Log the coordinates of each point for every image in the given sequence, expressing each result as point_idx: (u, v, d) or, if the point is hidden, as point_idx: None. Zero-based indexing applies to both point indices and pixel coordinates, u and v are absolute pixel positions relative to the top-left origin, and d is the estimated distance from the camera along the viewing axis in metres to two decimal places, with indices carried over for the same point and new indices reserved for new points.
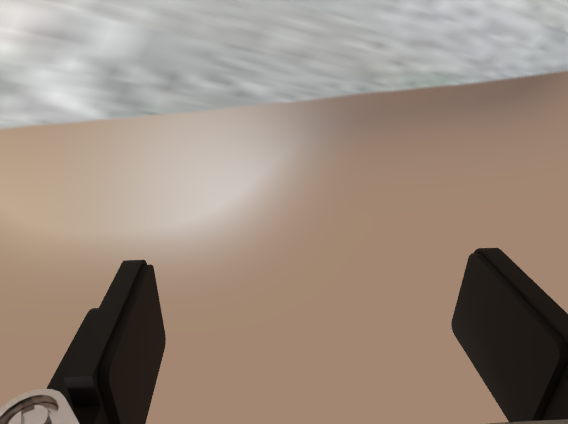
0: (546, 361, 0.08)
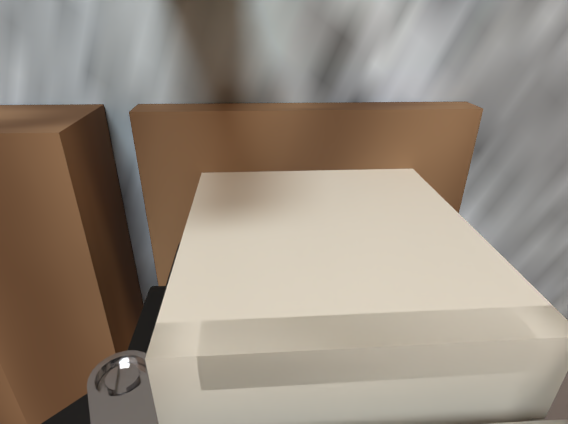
0: None
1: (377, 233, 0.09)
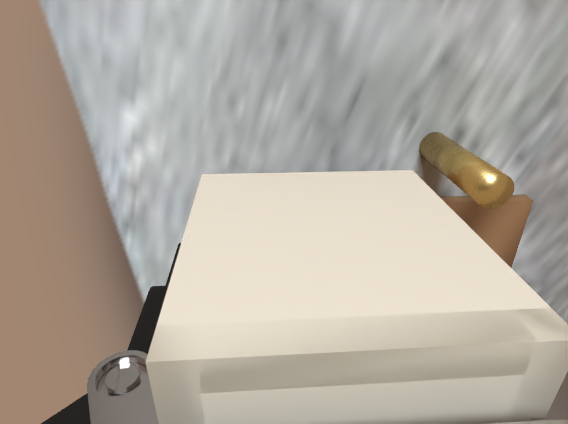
0: None
1: (377, 235, 0.09)
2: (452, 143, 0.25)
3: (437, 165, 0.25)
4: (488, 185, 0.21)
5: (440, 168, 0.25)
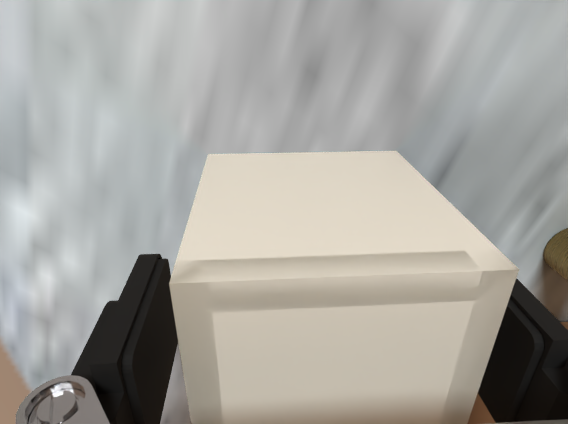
0: (522, 352, 0.09)
1: (360, 199, 0.10)
2: None
3: None
4: None
5: None
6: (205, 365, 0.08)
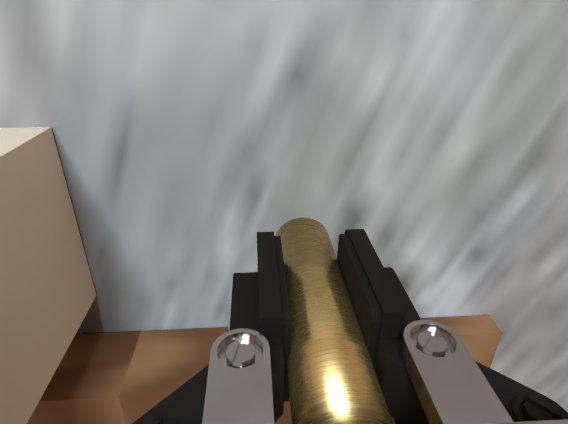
0: (367, 325, 0.09)
1: None
2: (311, 260, 0.12)
3: None
4: None
5: None
6: None
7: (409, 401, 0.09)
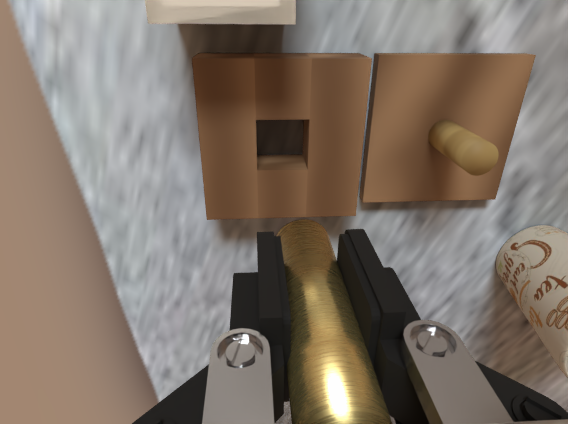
0: (367, 325, 0.09)
1: None
2: (311, 261, 0.12)
3: None
4: None
5: None
6: None
7: (409, 400, 0.09)
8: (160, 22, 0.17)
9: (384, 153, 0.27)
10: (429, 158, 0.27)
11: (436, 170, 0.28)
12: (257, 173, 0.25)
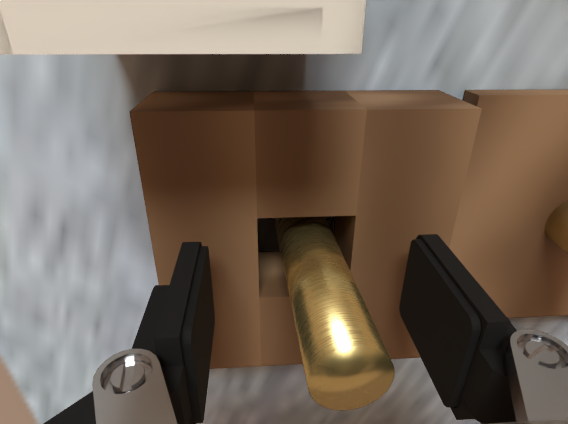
0: (463, 334, 0.09)
1: None
2: (310, 227, 0.13)
3: None
4: (332, 370, 0.09)
5: None
6: None
7: None
8: (0, 51, 0.06)
9: (470, 251, 0.16)
10: (542, 257, 0.17)
11: (550, 274, 0.17)
12: (259, 302, 0.14)
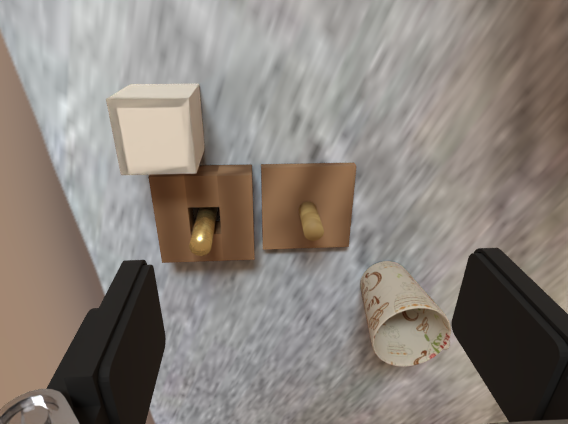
0: (546, 361, 0.08)
1: (167, 91, 0.34)
2: (204, 210, 0.41)
3: None
4: (194, 243, 0.36)
5: None
6: (117, 124, 0.32)
7: None
8: (127, 174, 0.34)
9: (272, 220, 0.44)
10: (301, 223, 0.44)
11: None
12: (191, 236, 0.42)
